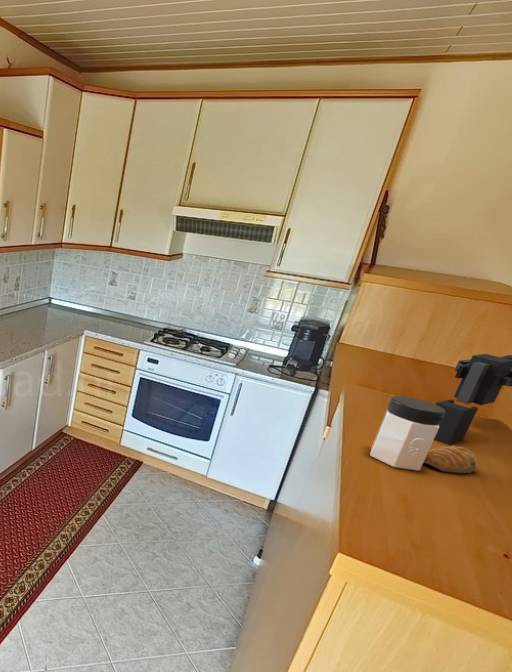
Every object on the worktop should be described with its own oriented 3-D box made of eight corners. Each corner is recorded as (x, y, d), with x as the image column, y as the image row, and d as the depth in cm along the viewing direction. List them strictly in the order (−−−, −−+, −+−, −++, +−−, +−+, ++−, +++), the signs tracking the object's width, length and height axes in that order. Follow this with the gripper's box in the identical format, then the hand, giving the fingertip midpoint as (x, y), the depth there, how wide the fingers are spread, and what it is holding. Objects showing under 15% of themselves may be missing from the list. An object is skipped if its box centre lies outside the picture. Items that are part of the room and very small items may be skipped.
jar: (381, 466, 92) (406, 408, 88) (358, 447, 100) (380, 392, 96) (432, 474, 91) (460, 415, 87) (405, 454, 99) (429, 399, 95)
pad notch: (436, 430, 114) (450, 399, 111) (462, 440, 110) (478, 407, 107) (422, 434, 111) (436, 402, 108) (448, 444, 106) (464, 411, 104)
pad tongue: (466, 394, 115) (485, 353, 111) (494, 402, 111) (514, 360, 107) (447, 398, 110) (466, 356, 107) (475, 406, 106) (496, 363, 102)
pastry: (447, 477, 91) (456, 459, 90) (409, 459, 97) (416, 442, 96) (478, 473, 94) (487, 455, 93) (439, 456, 100) (447, 439, 99)
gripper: (561, 398, 111) (522, 408, 100) (463, 372, 126) (420, 378, 115) (578, 367, 109) (539, 374, 98) (476, 344, 123) (433, 348, 113)
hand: (475, 376), depth 106 cm, fingers closed on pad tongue, 5 cm apart
